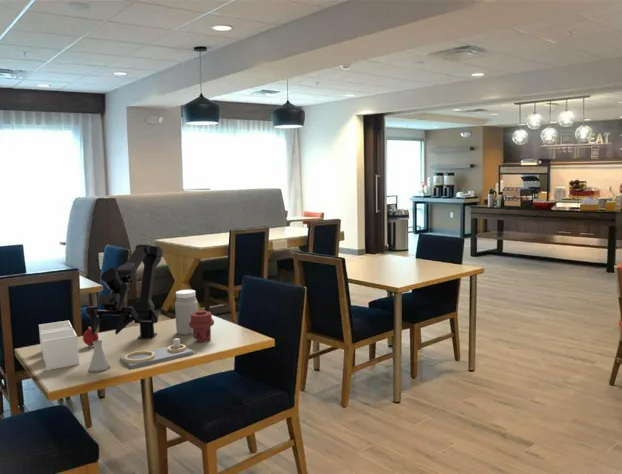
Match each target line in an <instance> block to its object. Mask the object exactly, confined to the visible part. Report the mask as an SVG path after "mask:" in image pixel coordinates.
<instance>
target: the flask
mask: <svg viewBox="0 0 622 474" xmlns="http://www.w3.org/2000/svg"><path fill="white" fill-rule="evenodd" d="M93 344H94V345H93V354H92V357H91V361H90V364H89V368H88V370H89V371H88V372H94V373H95V372H96V373H97V372H103V371H107V370H108V369H110V368H111V366H110V363H109V361H108V359H107V357H106V354H105V353H104V349H103V347H102V346H103V345H102V344H103V340H101V339H100V340H99V339H98V341H94V342H93Z"/></svg>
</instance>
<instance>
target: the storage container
mask: <svg viewBox="0 0 622 474" xmlns="http://www.w3.org/2000/svg"><path fill="white" fill-rule="evenodd" d="M38 331H39V342H40V343H39V344H40V352H41V353H42V359H43V362H44V363H45V369H46V370H47V371H49V370H53V369H54V370H55V369H60V368H65V367H72V366H76V365H77V366H78V365H80V357H79V343H78V334H77V333H76V331H75V329H74V328H73V326H72V323H71V322H70V320H64V321H56V322H49V323H41V324H38Z"/></svg>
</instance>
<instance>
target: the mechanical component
mask: <svg viewBox="0 0 622 474" xmlns="http://www.w3.org/2000/svg"><path fill="white" fill-rule="evenodd" d="M212 317H213V316H212V312H211V311H207V310H205V309H200V310H199V309H198V311H196V312H194V313H192V314H191V321H190V322H189V326H190V327H191V328H193V334H192V336H193V339H195V340H197V343H199V344H202V343H203V342H207V341H210V340H211V337H212V331H211V328H212V327H213V326H214V325H215V321H214V319H213V318H212Z"/></svg>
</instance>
